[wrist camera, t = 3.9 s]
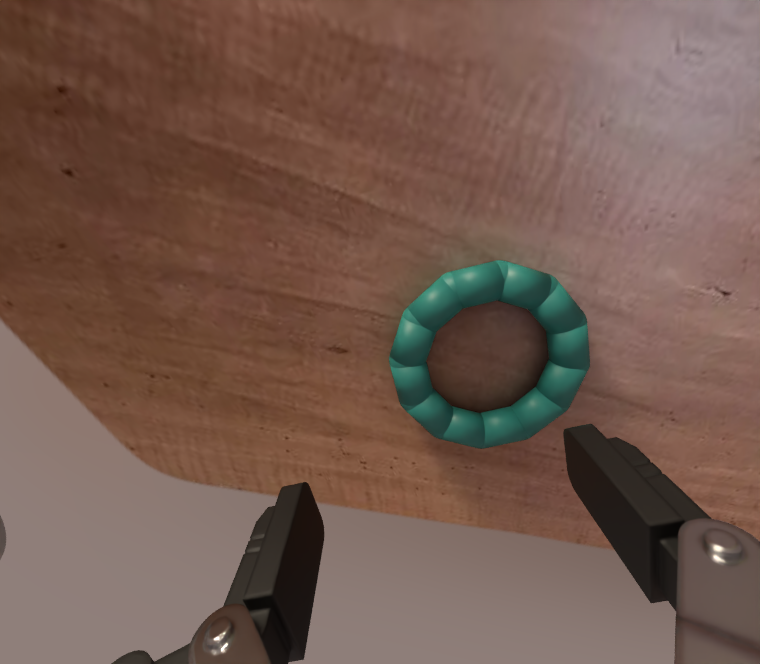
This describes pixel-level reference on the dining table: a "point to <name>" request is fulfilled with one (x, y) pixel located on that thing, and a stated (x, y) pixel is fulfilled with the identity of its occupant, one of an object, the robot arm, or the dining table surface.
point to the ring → (474, 289)
